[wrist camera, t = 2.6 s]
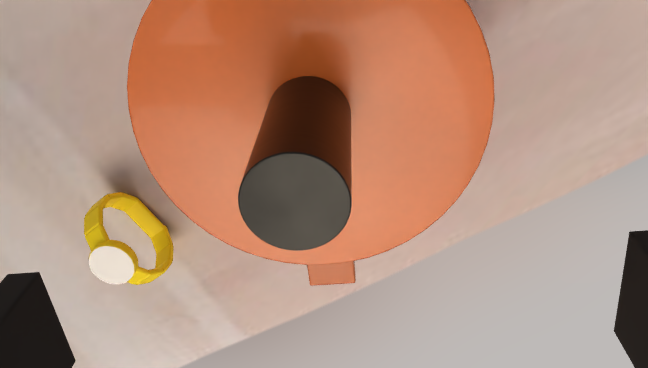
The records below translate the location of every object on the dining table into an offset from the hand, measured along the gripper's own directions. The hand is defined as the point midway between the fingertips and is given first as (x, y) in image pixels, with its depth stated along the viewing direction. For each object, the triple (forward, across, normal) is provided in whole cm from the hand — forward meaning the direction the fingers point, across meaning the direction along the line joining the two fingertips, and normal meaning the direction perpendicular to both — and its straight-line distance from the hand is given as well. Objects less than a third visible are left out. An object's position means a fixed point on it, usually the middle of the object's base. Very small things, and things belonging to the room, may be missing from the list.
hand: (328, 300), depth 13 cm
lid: (+14, -1, 0) cm, 14 cm away
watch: (+23, -14, -10) cm, 29 cm away
